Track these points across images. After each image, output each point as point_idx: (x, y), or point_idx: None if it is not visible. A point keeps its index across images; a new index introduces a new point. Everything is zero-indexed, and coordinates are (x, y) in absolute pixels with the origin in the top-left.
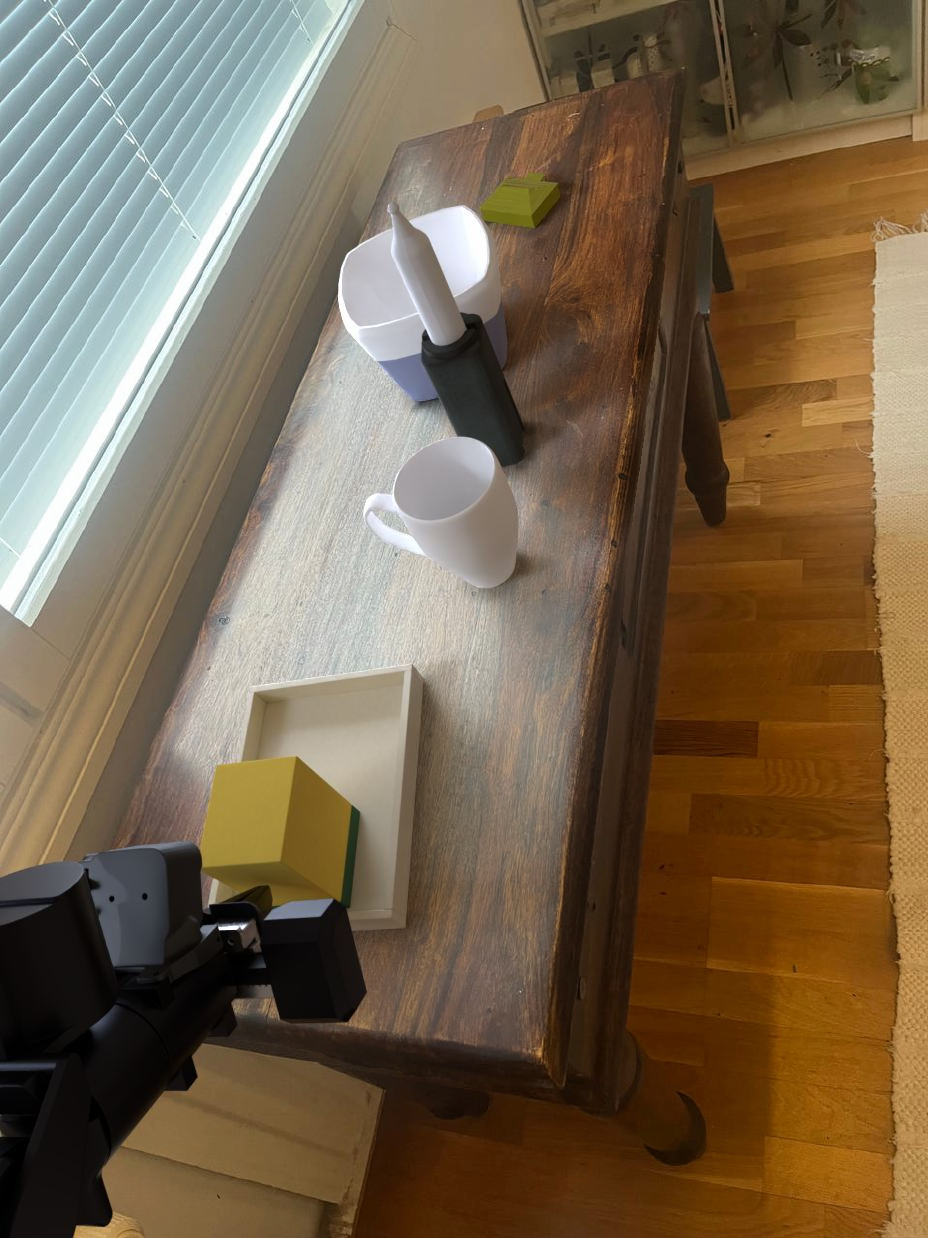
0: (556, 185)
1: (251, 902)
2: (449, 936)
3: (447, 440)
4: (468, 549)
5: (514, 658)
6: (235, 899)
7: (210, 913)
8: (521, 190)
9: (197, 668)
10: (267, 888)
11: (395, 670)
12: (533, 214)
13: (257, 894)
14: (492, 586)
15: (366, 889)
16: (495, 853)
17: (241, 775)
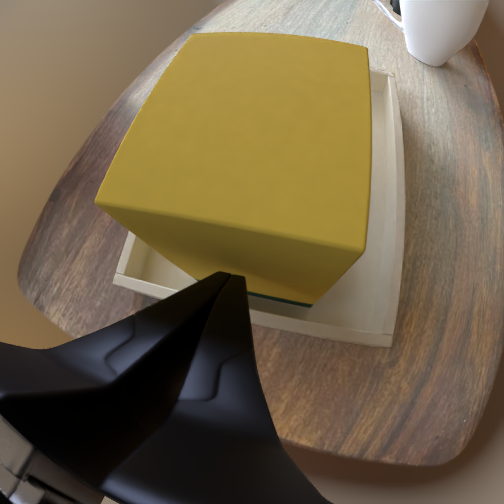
0: None
1: (242, 354)
2: (419, 364)
3: None
4: (462, 20)
5: (459, 115)
6: (181, 311)
7: (109, 377)
8: None
9: (166, 50)
10: (246, 285)
11: (378, 71)
12: None
13: (239, 309)
14: (431, 64)
15: (334, 288)
16: (468, 282)
17: (241, 45)
